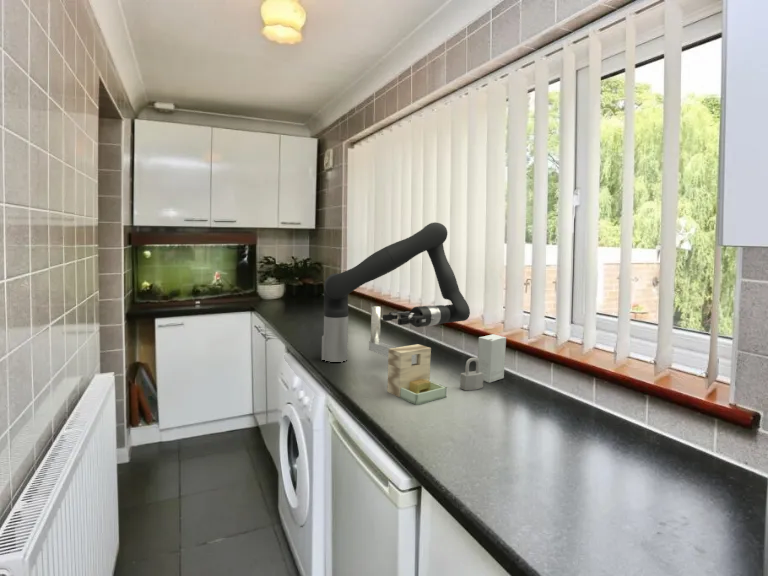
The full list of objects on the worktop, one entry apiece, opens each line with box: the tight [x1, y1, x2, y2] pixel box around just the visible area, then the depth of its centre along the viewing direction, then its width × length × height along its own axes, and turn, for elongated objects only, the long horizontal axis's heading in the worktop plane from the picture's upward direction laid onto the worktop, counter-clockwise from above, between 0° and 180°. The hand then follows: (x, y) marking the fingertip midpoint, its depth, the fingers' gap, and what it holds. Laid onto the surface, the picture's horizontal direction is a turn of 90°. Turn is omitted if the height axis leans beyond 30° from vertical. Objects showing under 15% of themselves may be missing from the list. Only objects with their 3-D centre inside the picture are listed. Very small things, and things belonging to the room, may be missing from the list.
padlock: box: [459, 357, 484, 391], centre depth 144 cm, size 7×4×10 cm, turn 118°
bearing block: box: [386, 343, 432, 398], centre depth 139 cm, size 6×12×14 cm, turn 127°
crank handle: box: [368, 305, 418, 365], centre depth 145 cm, size 22×3×15 cm, turn 38°
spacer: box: [410, 379, 432, 394], centre depth 135 cm, size 4×5×4 cm
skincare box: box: [477, 333, 507, 383], centre depth 154 cm, size 8×6×15 cm
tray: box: [399, 380, 448, 406], centre depth 134 cm, size 7×12×3 cm, turn 127°
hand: (390, 319), depth 156 cm, fingers open, 8 cm apart
